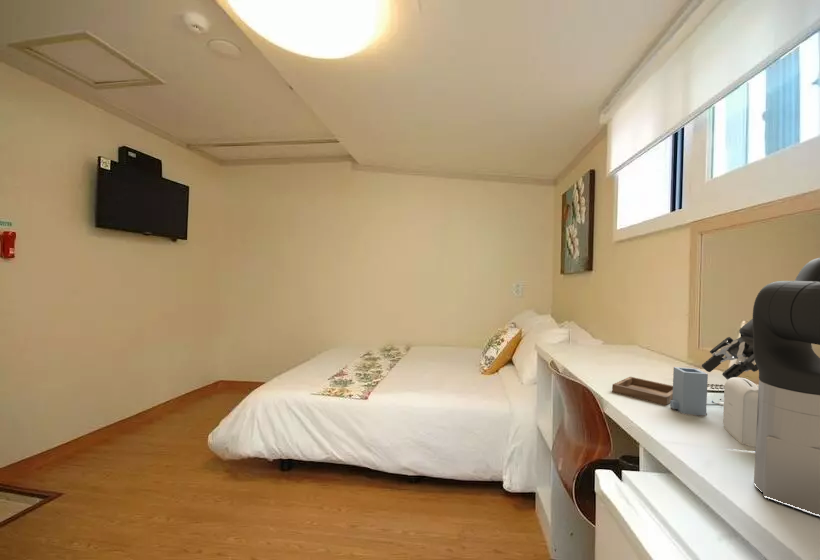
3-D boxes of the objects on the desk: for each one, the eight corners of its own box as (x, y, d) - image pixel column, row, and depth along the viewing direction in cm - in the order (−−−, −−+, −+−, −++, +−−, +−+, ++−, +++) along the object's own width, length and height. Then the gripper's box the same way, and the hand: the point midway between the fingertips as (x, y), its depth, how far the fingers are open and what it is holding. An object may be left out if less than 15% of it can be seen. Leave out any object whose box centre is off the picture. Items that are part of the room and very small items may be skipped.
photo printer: (719, 426, 82) (722, 371, 81) (744, 430, 80) (746, 374, 80) (739, 446, 72) (742, 384, 72) (767, 450, 71) (770, 387, 70)
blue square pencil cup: (706, 415, 87) (707, 374, 86) (676, 412, 88) (678, 371, 88) (694, 407, 92) (696, 368, 91) (666, 405, 93) (668, 366, 93)
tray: (666, 407, 93) (666, 397, 93) (612, 393, 103) (612, 384, 103) (681, 396, 101) (681, 387, 101) (629, 384, 111) (630, 376, 111)
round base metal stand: (714, 419, 85) (715, 395, 85) (679, 416, 87) (680, 393, 87) (697, 408, 92) (697, 386, 92) (665, 405, 94) (666, 384, 94)
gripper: (810, 344, 79) (747, 394, 81) (762, 335, 92) (710, 377, 95) (781, 319, 80) (720, 369, 82) (738, 313, 94) (687, 356, 96)
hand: (714, 373), depth 89 cm, fingers open, 8 cm apart
